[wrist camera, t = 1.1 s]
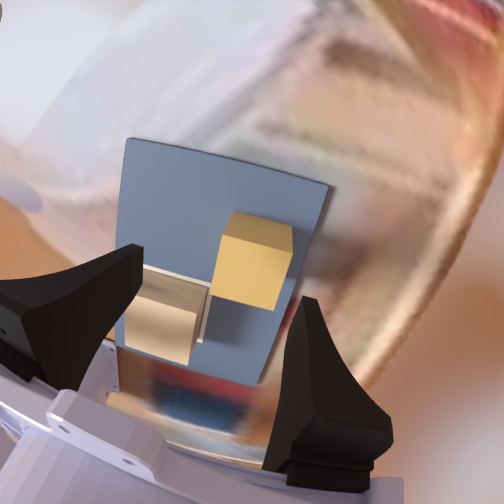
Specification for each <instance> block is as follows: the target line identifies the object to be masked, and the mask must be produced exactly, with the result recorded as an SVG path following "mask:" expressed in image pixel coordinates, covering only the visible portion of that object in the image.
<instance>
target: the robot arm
mask: <svg viewBox="0 0 504 504" xmlns="http://www.w3.org/2000/svg"><path fill="white" fill-rule="evenodd" d="M143 259H144V247H142V246H139V245H136V244H133V243H132V244H129V245H126V246H124V247H122V248H119V249H117V250H115V251H112V252H110V253H108V254H106V255H103V256H101V257H99V258H96V259H94V260H91V261H89V262H86V263H84V264H81V265H79V266H76V267H73V268H70V269H67V270H64V271H60V272H57V273H52V274H48V275H43V276H38V277H32V278H24V279H12V280H0V504H404V482H403V478H401V477H374V478H371V479H370V471H372V470H373V469H374V460H376V459H377V458H378V457H379V456H381V455H382V454H383V453H385V452H386V451H387V450H388V449H389V448H390V447H391V446H392V444H393V442H394V441H393V429H392V422H391V417H390V416H389V415H388V414H386V413H385V412H384V411H383V410H382V409H381V408H380V407H379V406H378V405H377V404H376V403H375V402H374V401H373V400H372V399H371V398H370V397H369V396H368V394H367V393H366V392H365V391H364V390H363V389H362V387H361V386H360V385H359V384H358V382H357V381H356V380H355V378H354V377H353V376H352V374H351V373H350V371H349V370H348V368H347V367H346V365H345V363H344V362H343V360H342V358H341V356H340V355H339V353H338V351H337V349H336V347H335V345H334V342H333V340H332V338H331V336H330V333H329V331H328V329H327V326H326V324H325V321H324V318H323V315H322V313H321V310H320V307H319V304H318V301H317V299H314V298H310V297H307V296H302V299H301V301H300V304H299V306H298V309H297V311H296V313H295V316H294V318H293V321H292V323H291V325H290V328H289V331H288V335H287V340H286V345H285V350H284V360H283V371H282V381H281V392H280V398H279V403H278V408H277V412H276V417H275V421H274V425H273V429H272V433H271V437H270V441H269V445H268V448H267V452H266V455H265V459H264V462H263V466H262V469H261V470H260V469H256V468H251V467H247V466H243V465H239V464H235V463H231V462H228V461H224V460H220V459H217V458H213V457H210V456H207V455H203V454H200V453H197V452H194V451H191V450H188V449H185V448H182V447H179V446H176V445H173V444H171V443H168V442H166V441H165V439H164V437H163V436H162V435H161V434H160V433H158V432H157V431H156V430H155V429H153V428H152V427H150V426H148V425H146V424H144V423H142V422H140V421H138V420H136V419H133V418H131V417H129V416H126V415H124V414H122V413H120V412H117V411H115V410H113V409H111V408H109V407H107V406H105V403H106V401H107V399H108V397H109V396H110V394H111V392H114V393H119V391H120V387H119V375H118V360H117V346H116V345H115V343H114V342H112V341H109V340H107V339H104V338H105V337H106V335H107V334H108V332H109V331H110V330H111V329H112V327H113V326H114V325H115V323H116V322H117V321H118V319H119V318H120V317H121V315H122V314H123V313H124V312H125V310H126V309H127V308H128V306H129V305H130V304H131V302H132V301H133V300H134V298H135V296H136V295H137V293H138V291H139V289H140V287H141V286H142V284H143ZM4 429H6V430H7V431H8V432H9V433H10V434H12V435H13V436H14V437H15V438H17V439H18V440H19V442H18V443H16V442H14V441H13V440H12V439H11V438H10V437H9V436H8V435H7V434H6V432H5V430H4Z"/></svg>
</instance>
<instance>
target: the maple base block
mask: <svg viewBox="0 0 504 504" xmlns="http://www.w3.org/2000/svg"><path fill="white" fill-rule="evenodd" d="M207 290H208V287H206V286H202V285H199V284H195V283H192V282H188V281H185V280H181V279H178V278H174V277H171V276H167V275H164V274H160V273H157V272H154V271H150V270H147V269H143V284H142V286H141V287H140V289H139V291H138V293H137V295H136V296H135V298H134V300H133V301H132V302H131V304H130V305H129V306H128V308H127V309H126V310H125V345H126V346H128V347H131V348H134V349H137V350H140V351H143V352H146V353H149V354H152V355H155V356H158V357H161V358H164V359H167V360H170V361H173V362H177V363H180V364H183V365H186V366H188V363H189V361H190V358H191V355H192V352H193V350H194V347H195V344H196V342H197V339H198V335H199V330H200V325H201V320H202V315H203V309H204V304H205V300H206V295H207Z"/></svg>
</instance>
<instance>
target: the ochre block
mask: <svg viewBox="0 0 504 504" xmlns="http://www.w3.org/2000/svg"><path fill="white" fill-rule="evenodd" d="M292 255H293V243H292V226H289V225H286V224H282V223H278V222H275V221H271V220H267V219H264V218H260V217H256V216H252V215H249V214H245V213H241V212H237V211H234V213H233V215H232V217H231V219H230V221H229V223H228V225H227V226H226V228H225V230H224V232H223V234H222V238H221V243H220V247H219V252H218V256H217V261H216V266H215V270H214V275H213V280H212V284H211V289H210V294H211V295H214V296H218V297H222V298H225V299H229V300H233V301H236V302H240V303H244V304H248V305H252V306H256V307H259V308H263V309H267V310H271V311H273V310H274V308H275V305H276V302H277V299H278V296H279V293H280V290H281V287H282V284H283V282H284V279H285V276H286V273H287V270H288V267H289V264H290V261H291V258H292Z"/></svg>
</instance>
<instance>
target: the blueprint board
mask: <svg viewBox="0 0 504 504" xmlns="http://www.w3.org/2000/svg"><path fill="white" fill-rule="evenodd" d="M327 190H328V185H326V184H323V183H319V182H316V181H313V180H309V179H306V178H303V177H299V176H296V175H292V174H289V173H285V172H281V171H278V170H274V169H270V168H267V167H263V166H259V165H255V164H251V163H247V162H243V161H239V160H235V159H231V158H227V157H223V156H218V155H214V154H210V153H205V152H201V151H196V150H192V149H187V148H182V147H177V146H172V145H167V144H162V143H157V142H152V141H146V140H141V139H135V138H127V139H126V145H125V152H124V159H123V167H122V175H121V184H120V193H119V203H118V215H117V229H116V246H115V250H117V249H119V248H122V247H124V246H126V245H129V244H132V243H133V244H136V245H139V246H142V247H144V259H143V269H147V270H150V271H154V272H157V273H160V274H164V275H167V276H171V277H174V278H178V279H181V280H185V281H188V282H192V283H195V284H199V285H202V286H206V287H208V290H207V295H206V300H205V304H204V309H203V315H202V320H201V325H200V330H199V335H198V339H197V342H196V344H195V347H194V350H193V352H192V355H191V358H190V361H189V363H188V366H186V365H183V364H180V363H177V362H173V361H170V360H167V359H164V358H161V357H158V356H155V355H152V354H149V353H146V352H143V351H140V350H137V349H134V348H131V347H128V346H126V345H125V312H124V313H123V314H122V315H121V317H120V318H119V319H118V321H117V322H116V323H115V345H116V346H119V347H121V348H124V349H127V350H130V351H132V352H135V353H138V354H141V355H144V356H147V357H150V358H153V359H156V360H159V361H162V362H165V363H168V364H171V365H175V366H178V367H181V368H185V369H188V370H191V371H195V372H198V373H202V374H205V375H209V376H213V377H217V378H220V379H224V380H228V381H232V382H236V383H240V384H244V385H249V386H253V387H256V384H257V382H258V379H259V377H260V375H261V372H262V370H263V367H264V365H265V362H266V360H267V357H268V355H269V352H270V350H271V347H272V344H273V342H274V339H275V337H276V334H277V332H278V329H279V326H280V324H281V321H282V318H283V316H284V313H285V311H286V308H287V305H288V302H289V300H290V297H291V294H292V292H293V289H294V286H295V283H296V281H297V278H298V275H299V272H300V270H301V267H302V264H303V261H304V258H305V255H306V253H307V250H308V247H309V244H310V241H311V238H312V235H313V232H314V229H315V226H316V223H317V220H318V217H319V214H320V211H321V208H322V205H323V202H324V199H325V196H326V193H327ZM234 211H237V212H241V213H245V214H249V215H252V216H256V217H260V218H264V219H267V220H271V221H275V222H278V223H282V224H286V225H289V226H292V243H293V255H292V258H291V261H290V264H289V267H288V270H287V273H286V276H285V279H284V282H283V284H282V287H281V290H280V293H279V296H278V299H277V302H276V305H275V308H274V310H273V311H271V310H267V309H263V308H259V307H256V306H252V305H248V304H244V303H240V302H236V301H233V300H229V299H225V298H222V297H218V296H214V295H211V294H210V289H211V284H212V280H213V275H214V270H215V266H216V261H217V256H218V252H219V247H220V243H221V238H222V234H223V232H224V230H225V228H226V226H227V225H228V223H229V221H230V219H231V217H232V215H233V213H234Z"/></svg>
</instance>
